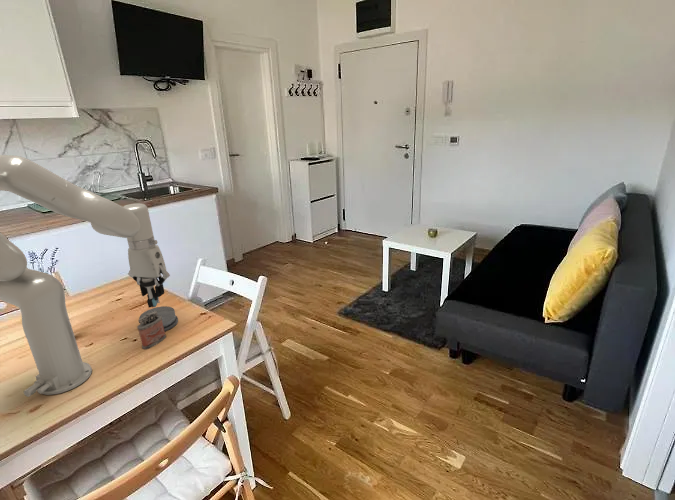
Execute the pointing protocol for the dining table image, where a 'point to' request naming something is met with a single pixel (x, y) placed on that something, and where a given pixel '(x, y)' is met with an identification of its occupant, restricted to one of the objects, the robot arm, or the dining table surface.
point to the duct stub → (164, 316)
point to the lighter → (151, 330)
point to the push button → (150, 291)
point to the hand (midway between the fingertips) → (153, 294)
